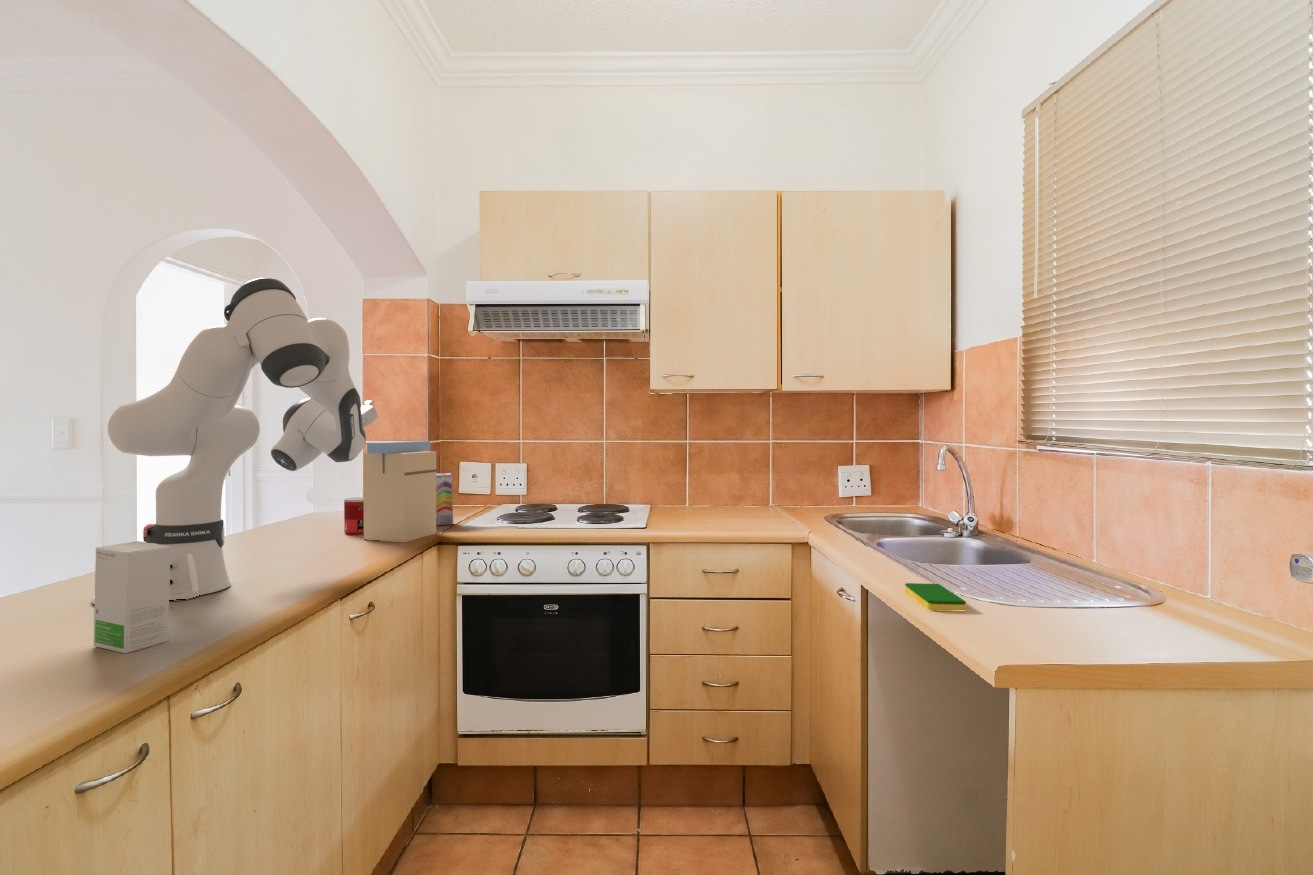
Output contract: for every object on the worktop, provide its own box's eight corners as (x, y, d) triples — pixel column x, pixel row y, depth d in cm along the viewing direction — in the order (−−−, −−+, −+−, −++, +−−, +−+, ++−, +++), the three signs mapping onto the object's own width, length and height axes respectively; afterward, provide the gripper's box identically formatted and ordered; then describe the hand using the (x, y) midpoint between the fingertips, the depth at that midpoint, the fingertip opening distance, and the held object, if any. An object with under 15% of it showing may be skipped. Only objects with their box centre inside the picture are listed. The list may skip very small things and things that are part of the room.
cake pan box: (392, 528, 217) (392, 475, 217) (393, 526, 222) (392, 474, 222) (453, 525, 224) (453, 473, 224) (452, 523, 229) (452, 472, 229)
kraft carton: (404, 542, 192) (404, 453, 191) (363, 539, 195) (363, 452, 195) (436, 533, 207) (436, 451, 207) (397, 531, 211) (397, 450, 210)
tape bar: (379, 453, 188) (379, 443, 188) (367, 453, 189) (367, 443, 189) (430, 450, 212) (430, 441, 212) (419, 450, 213) (419, 440, 213)
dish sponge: (928, 613, 125) (928, 600, 125) (904, 594, 138) (904, 582, 138) (966, 614, 124) (966, 601, 124) (938, 594, 138) (939, 583, 138)
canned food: (361, 535, 203) (361, 500, 203) (338, 534, 204) (338, 499, 204) (376, 531, 210) (376, 497, 210) (354, 530, 212) (354, 496, 212)
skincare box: (92, 647, 102) (91, 547, 101) (139, 634, 108) (138, 540, 108) (127, 654, 99) (126, 551, 98) (173, 640, 105) (172, 543, 105)
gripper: (354, 417, 166) (385, 392, 178) (288, 417, 171) (322, 392, 183) (363, 438, 169) (392, 412, 181) (297, 437, 175) (330, 412, 186)
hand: (356, 402), depth 182 cm, fingers open, 8 cm apart
